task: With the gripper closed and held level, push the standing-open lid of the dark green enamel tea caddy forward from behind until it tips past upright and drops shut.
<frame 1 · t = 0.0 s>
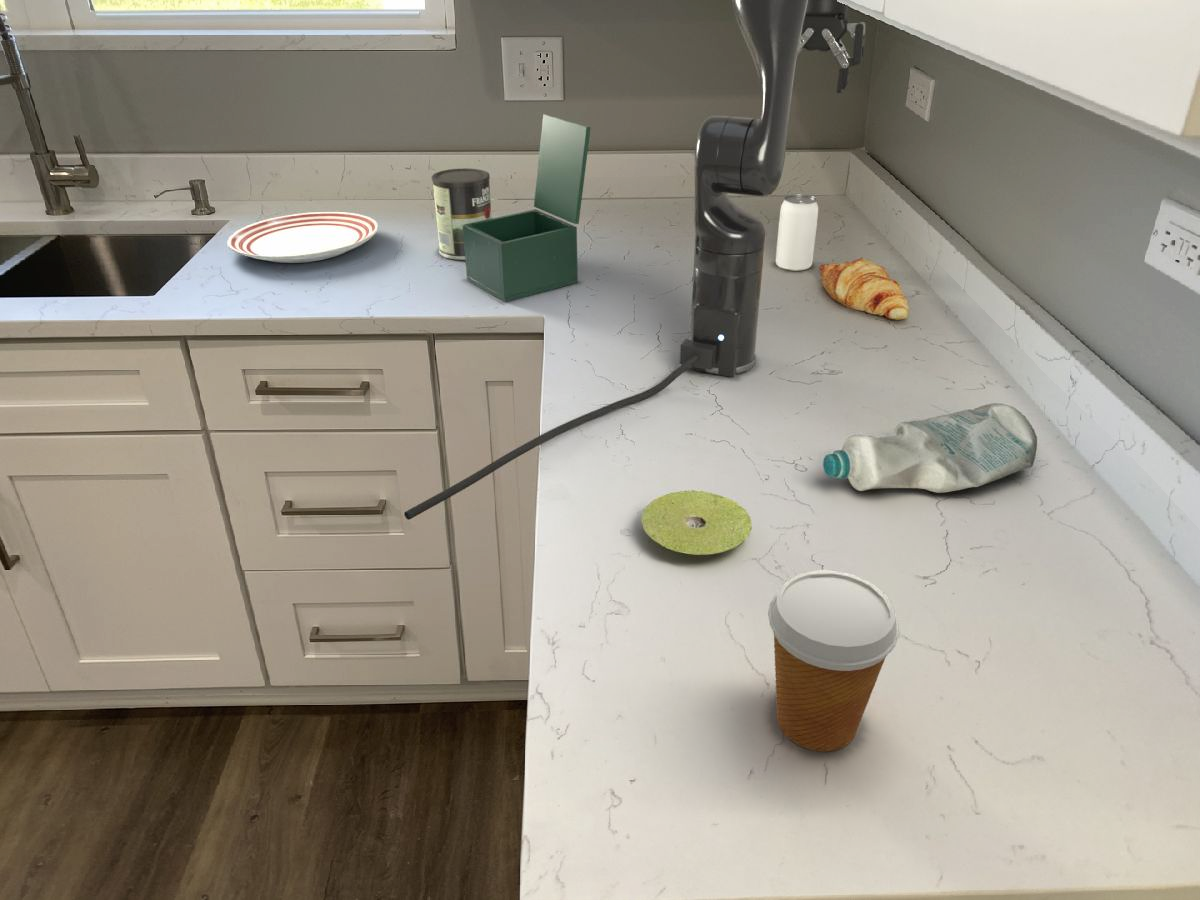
hand: (813, 90, 152), 29 cm above the worktop, tool pointing down, fingers open, 8 cm apart
crushed plastic bottle: (921, 477, 105), on the worktop
lid: (560, 168, 154), point 18 cm above the worktop, hinge at 100.0°
croissant: (859, 303, 150), on the worktop
dinner plate: (306, 248, 175), on the worktop
coffee can: (466, 252, 173), on the worktop
disposable coffee cup: (816, 722, 74), on the worktop
can: (793, 266, 165), on the worktop
caddy: (522, 281, 159), on the worktop
green disc: (695, 536, 96), on the worktop
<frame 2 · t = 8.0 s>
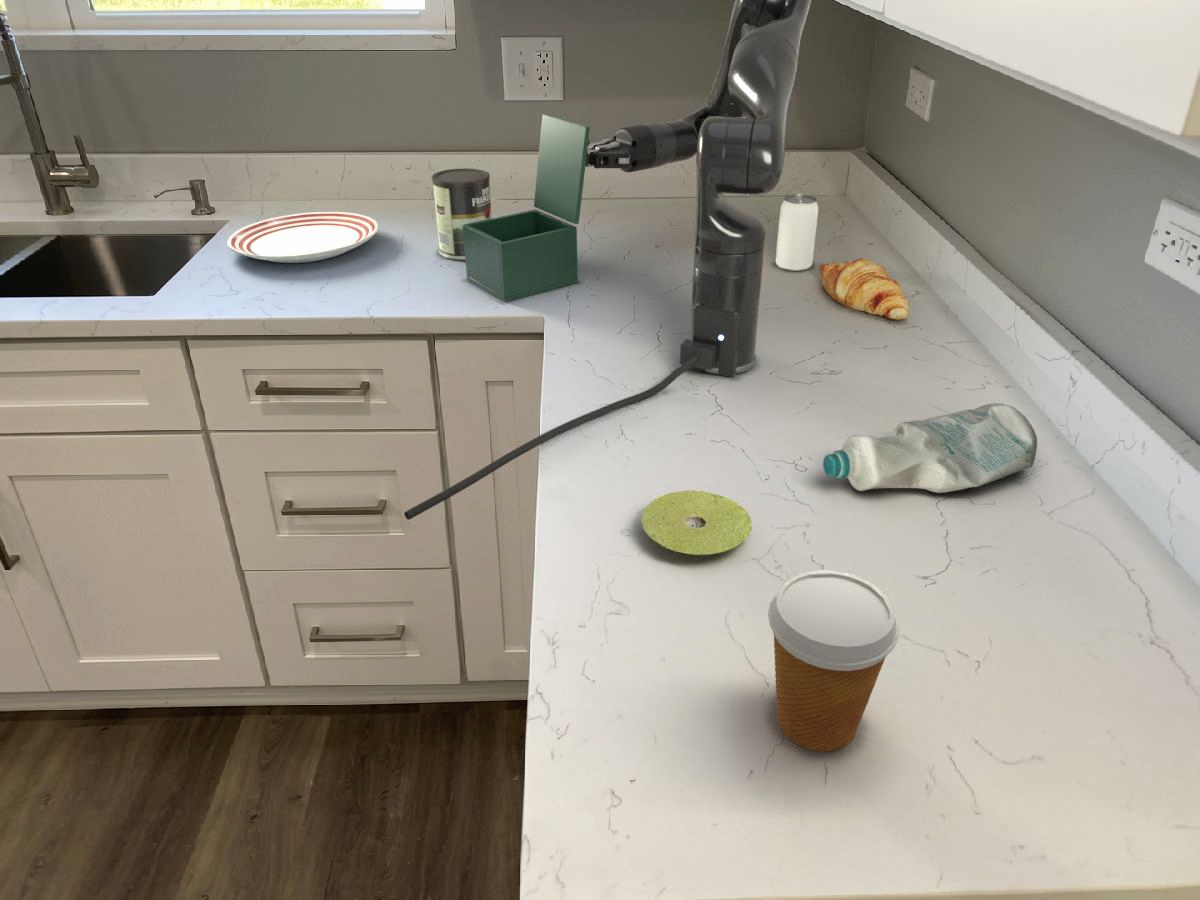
hand: (563, 161, 154), 19 cm above the worktop, tool horizontal, fingers closed
lid: (560, 168, 154), point 18 cm above the worktop, hinge at 99.3°, touching gripper
everything else where it was.
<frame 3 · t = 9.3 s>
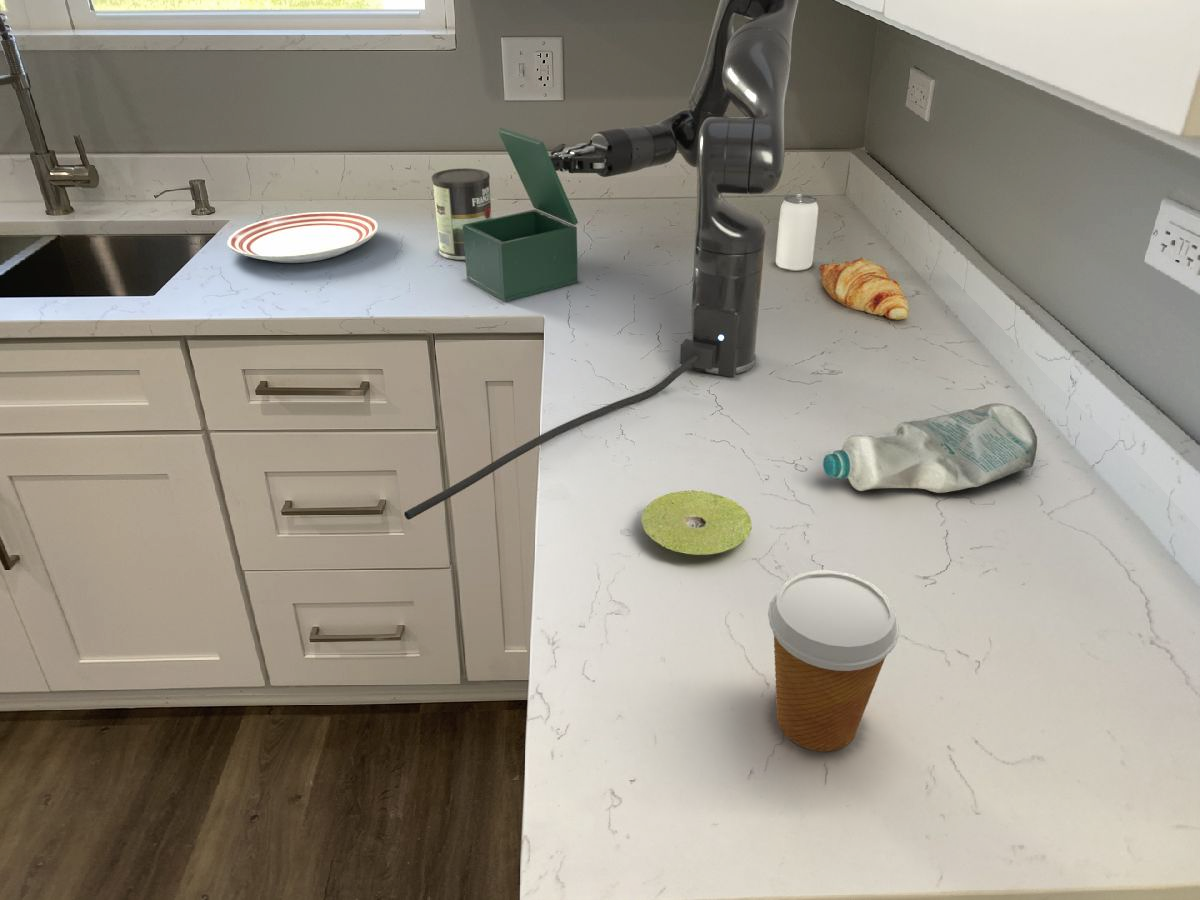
hand: (537, 166, 151), 19 cm above the worktop, tool horizontal, fingers closed
lid: (538, 176, 152), point 17 cm above the worktop, hinge at 65.3°
everything else where it was.
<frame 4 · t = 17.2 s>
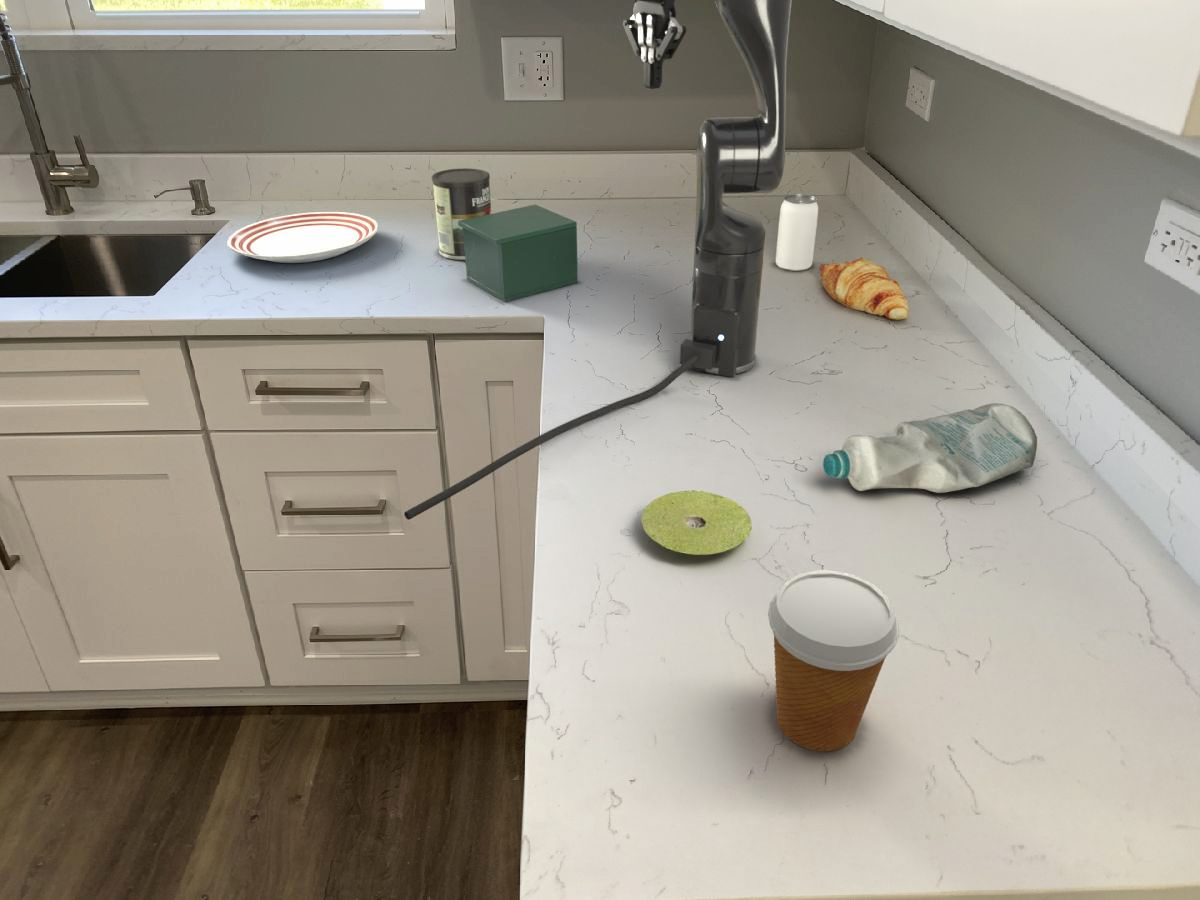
hand: (652, 87, 145), 31 cm above the worktop, tool pointing down, fingers closed
lid: (517, 223, 153), point 10 cm above the worktop, hinge at -0.1°
everything else where it was.
at the end: lid at +0° (first picture: +100°); croissant moved 0.2 cm from its start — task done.
